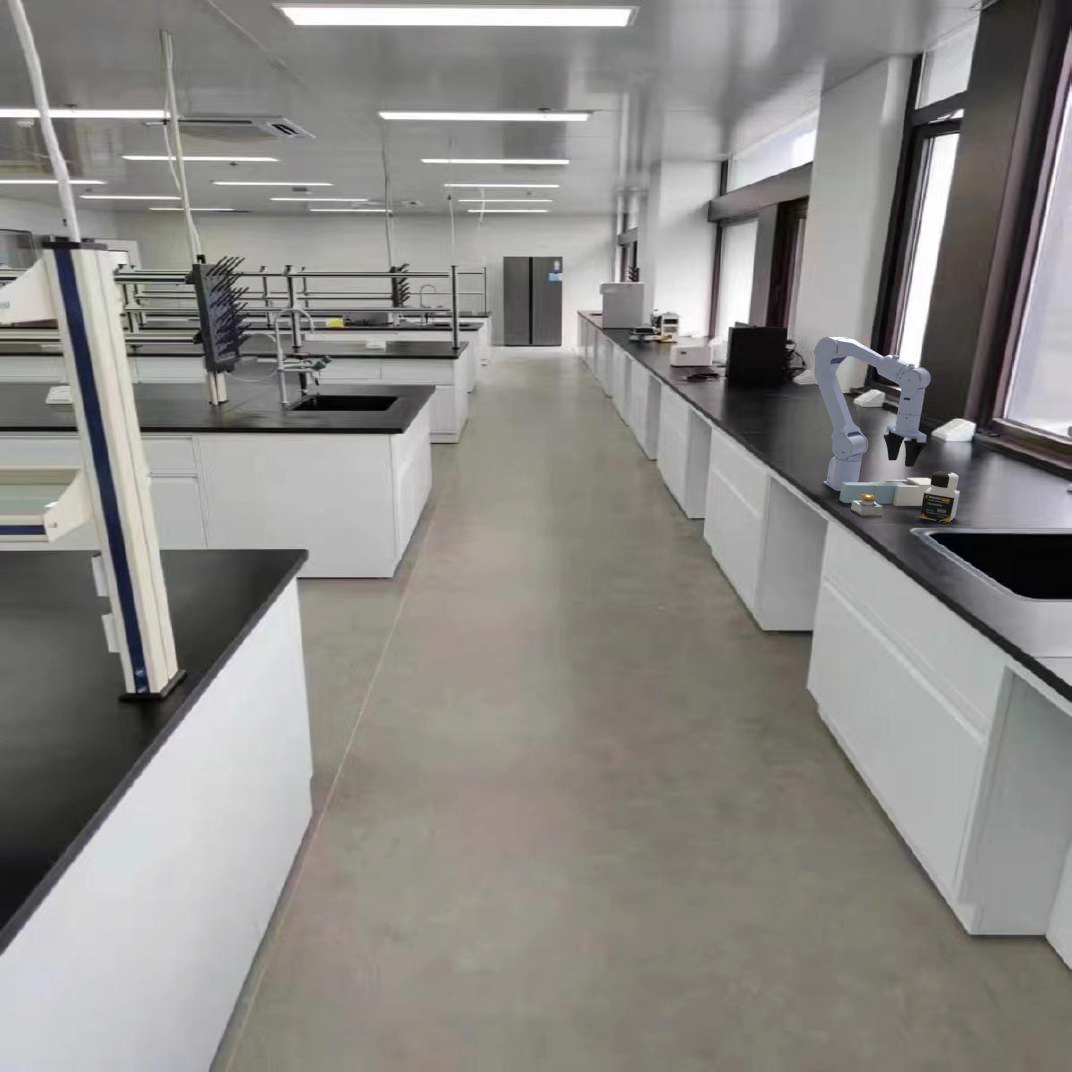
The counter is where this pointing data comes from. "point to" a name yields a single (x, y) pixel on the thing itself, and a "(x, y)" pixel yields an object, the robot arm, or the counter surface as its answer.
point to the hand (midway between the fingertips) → (900, 463)
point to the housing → (910, 491)
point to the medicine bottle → (941, 497)
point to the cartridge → (869, 491)
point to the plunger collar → (866, 508)
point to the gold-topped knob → (868, 499)
